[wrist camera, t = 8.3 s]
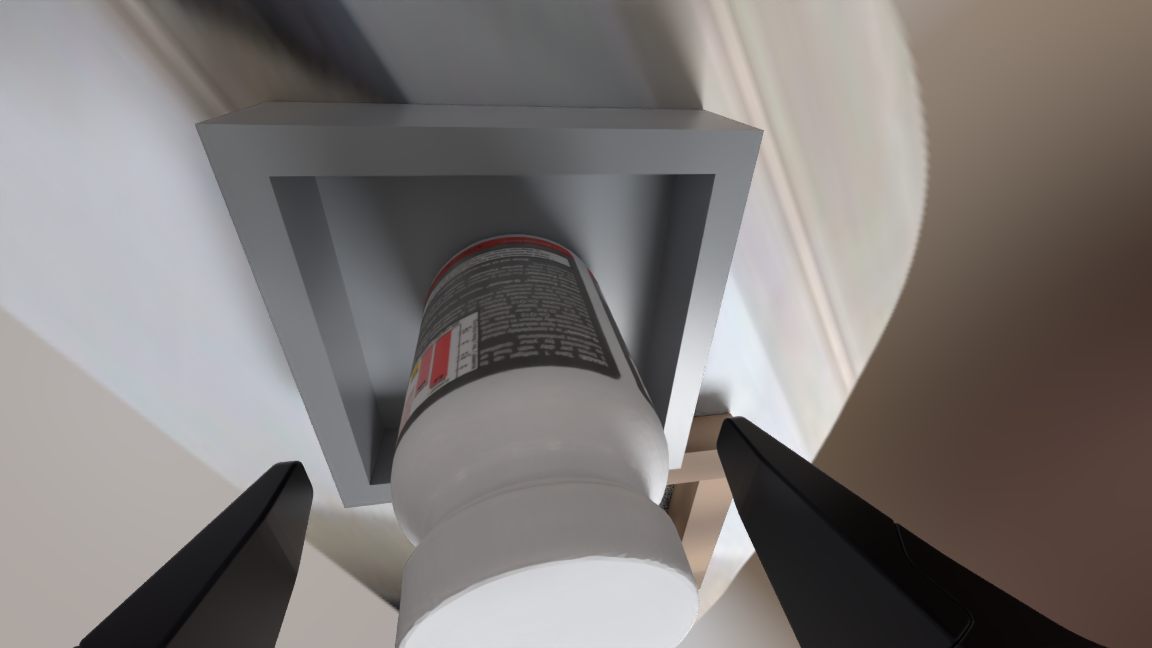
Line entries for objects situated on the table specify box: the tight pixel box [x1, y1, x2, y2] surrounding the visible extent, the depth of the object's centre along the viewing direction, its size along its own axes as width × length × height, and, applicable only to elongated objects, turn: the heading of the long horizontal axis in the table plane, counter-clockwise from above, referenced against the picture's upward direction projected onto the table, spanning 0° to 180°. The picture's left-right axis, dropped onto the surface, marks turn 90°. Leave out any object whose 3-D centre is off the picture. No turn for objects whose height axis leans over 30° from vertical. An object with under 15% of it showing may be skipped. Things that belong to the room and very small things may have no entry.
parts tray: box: [195, 101, 764, 508], centre depth 14 cm, size 12×12×4 cm
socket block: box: [666, 414, 733, 589], centre depth 23 cm, size 12×12×2 cm
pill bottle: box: [391, 234, 699, 648], centre depth 11 cm, size 6×6×10 cm
